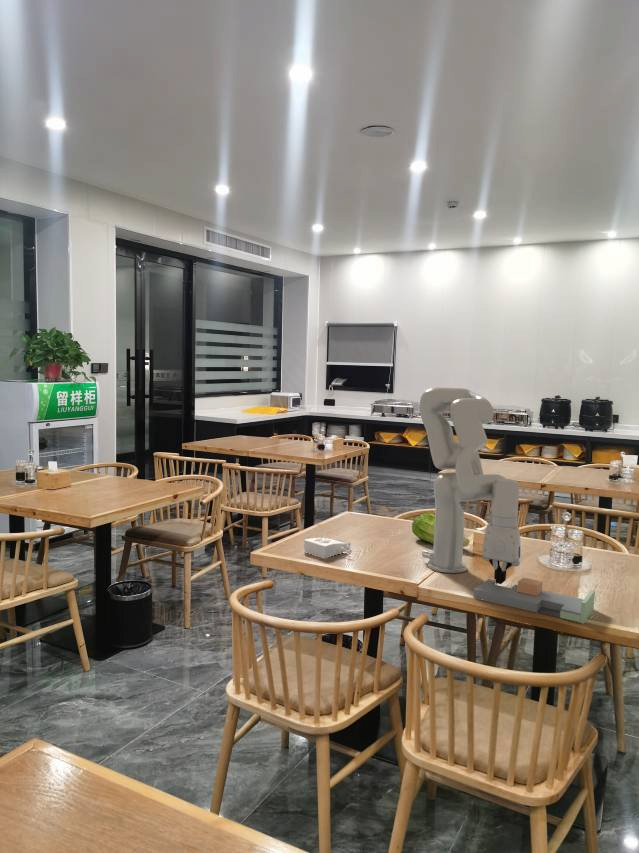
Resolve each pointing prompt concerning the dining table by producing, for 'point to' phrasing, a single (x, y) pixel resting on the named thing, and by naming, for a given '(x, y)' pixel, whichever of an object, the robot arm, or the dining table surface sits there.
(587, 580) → the dining table surface
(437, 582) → the dining table surface
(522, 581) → the block
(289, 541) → the dining table surface
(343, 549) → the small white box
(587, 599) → the grey stepped platform
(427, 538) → the lettuce
